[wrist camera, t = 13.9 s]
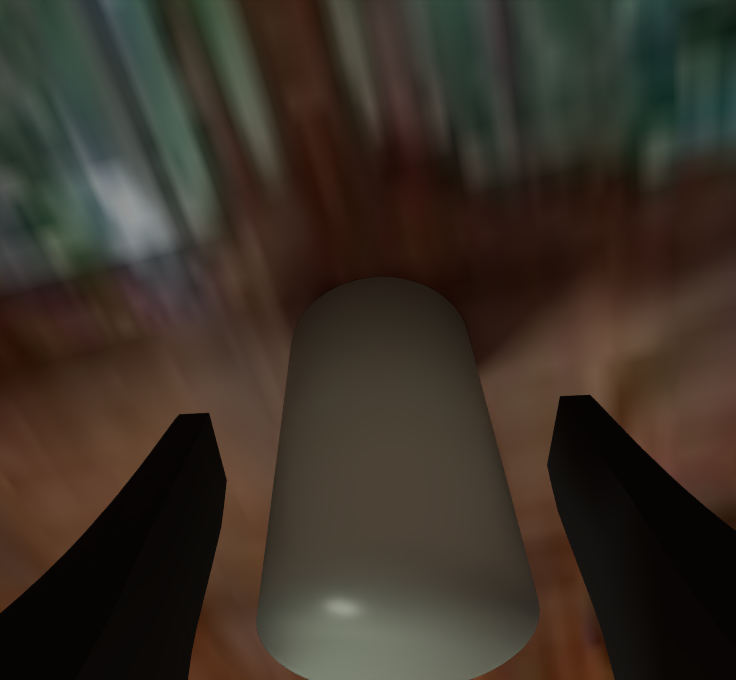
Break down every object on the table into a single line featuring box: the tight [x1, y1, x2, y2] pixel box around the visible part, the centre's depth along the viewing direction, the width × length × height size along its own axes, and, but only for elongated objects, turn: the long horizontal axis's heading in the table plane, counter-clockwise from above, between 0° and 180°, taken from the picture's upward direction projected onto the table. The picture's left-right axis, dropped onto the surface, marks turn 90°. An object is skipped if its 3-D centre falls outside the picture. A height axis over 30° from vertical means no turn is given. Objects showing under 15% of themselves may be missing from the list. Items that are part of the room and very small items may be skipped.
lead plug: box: [256, 277, 540, 680], centre depth 13 cm, size 4×4×7 cm
